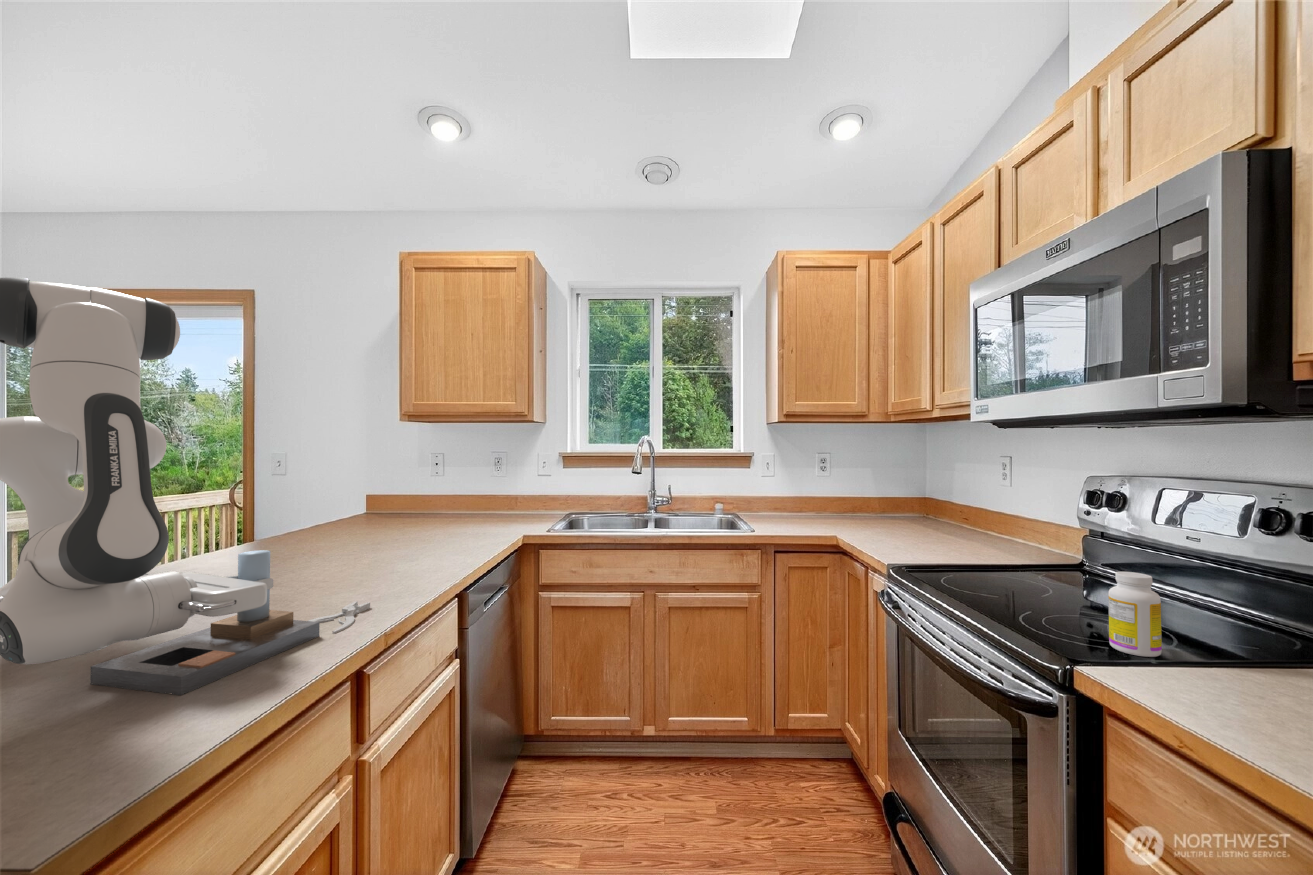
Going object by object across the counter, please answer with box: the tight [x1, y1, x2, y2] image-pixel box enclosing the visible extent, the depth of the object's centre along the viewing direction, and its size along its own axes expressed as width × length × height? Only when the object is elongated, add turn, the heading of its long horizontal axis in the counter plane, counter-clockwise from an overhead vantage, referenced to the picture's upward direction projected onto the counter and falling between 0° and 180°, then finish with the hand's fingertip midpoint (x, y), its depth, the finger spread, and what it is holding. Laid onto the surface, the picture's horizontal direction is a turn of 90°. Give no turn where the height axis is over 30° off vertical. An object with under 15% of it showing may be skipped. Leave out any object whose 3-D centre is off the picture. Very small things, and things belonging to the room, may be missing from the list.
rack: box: [89, 609, 321, 696], centre depth 85 cm, size 16×23×4 cm
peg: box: [236, 549, 271, 622], centre depth 91 cm, size 4×4×11 cm
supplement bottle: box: [1108, 571, 1163, 658], centre depth 90 cm, size 7×7×13 cm
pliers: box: [307, 600, 371, 634], centre depth 104 cm, size 10×2×15 cm
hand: (259, 580), depth 92 cm, fingers closed on peg, 4 cm apart
